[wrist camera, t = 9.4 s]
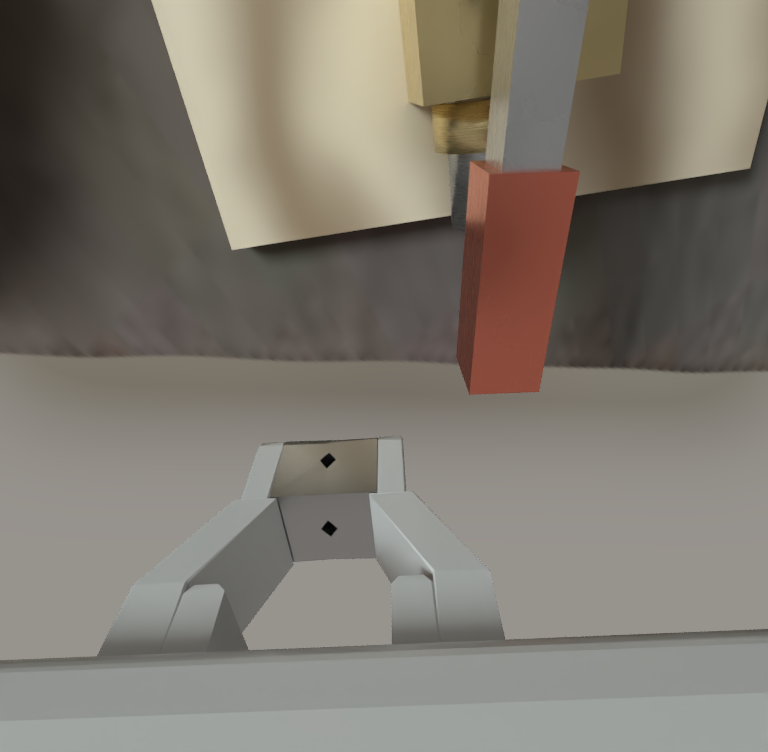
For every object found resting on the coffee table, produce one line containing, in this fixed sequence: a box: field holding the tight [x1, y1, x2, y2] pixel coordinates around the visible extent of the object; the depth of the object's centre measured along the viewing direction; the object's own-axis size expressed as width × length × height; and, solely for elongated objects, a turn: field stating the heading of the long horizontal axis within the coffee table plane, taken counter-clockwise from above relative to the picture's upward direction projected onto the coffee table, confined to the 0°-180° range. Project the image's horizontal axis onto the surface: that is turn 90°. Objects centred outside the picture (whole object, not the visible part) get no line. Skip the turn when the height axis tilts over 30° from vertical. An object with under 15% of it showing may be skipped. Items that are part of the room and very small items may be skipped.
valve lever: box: [456, 0, 589, 394], centre depth 14 cm, size 13×3×3 cm, turn 1°
